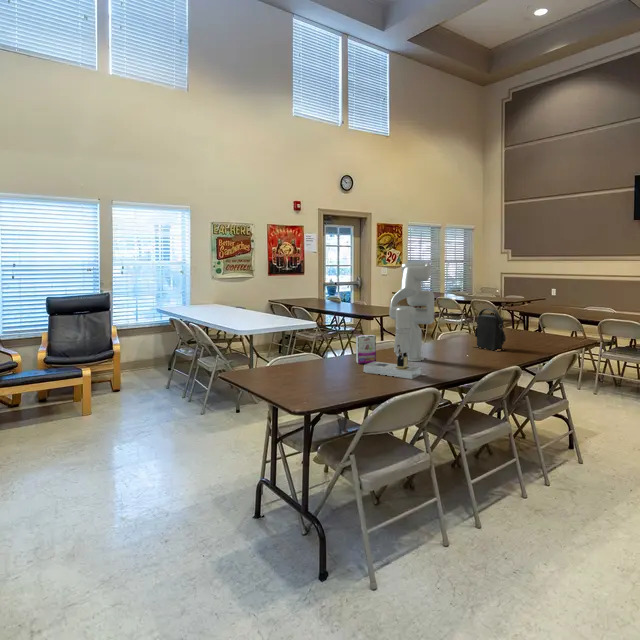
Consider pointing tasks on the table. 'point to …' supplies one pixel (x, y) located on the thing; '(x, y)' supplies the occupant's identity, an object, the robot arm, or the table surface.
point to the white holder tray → (392, 370)
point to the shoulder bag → (490, 331)
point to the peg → (403, 363)
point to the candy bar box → (365, 349)
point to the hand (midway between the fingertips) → (402, 364)
